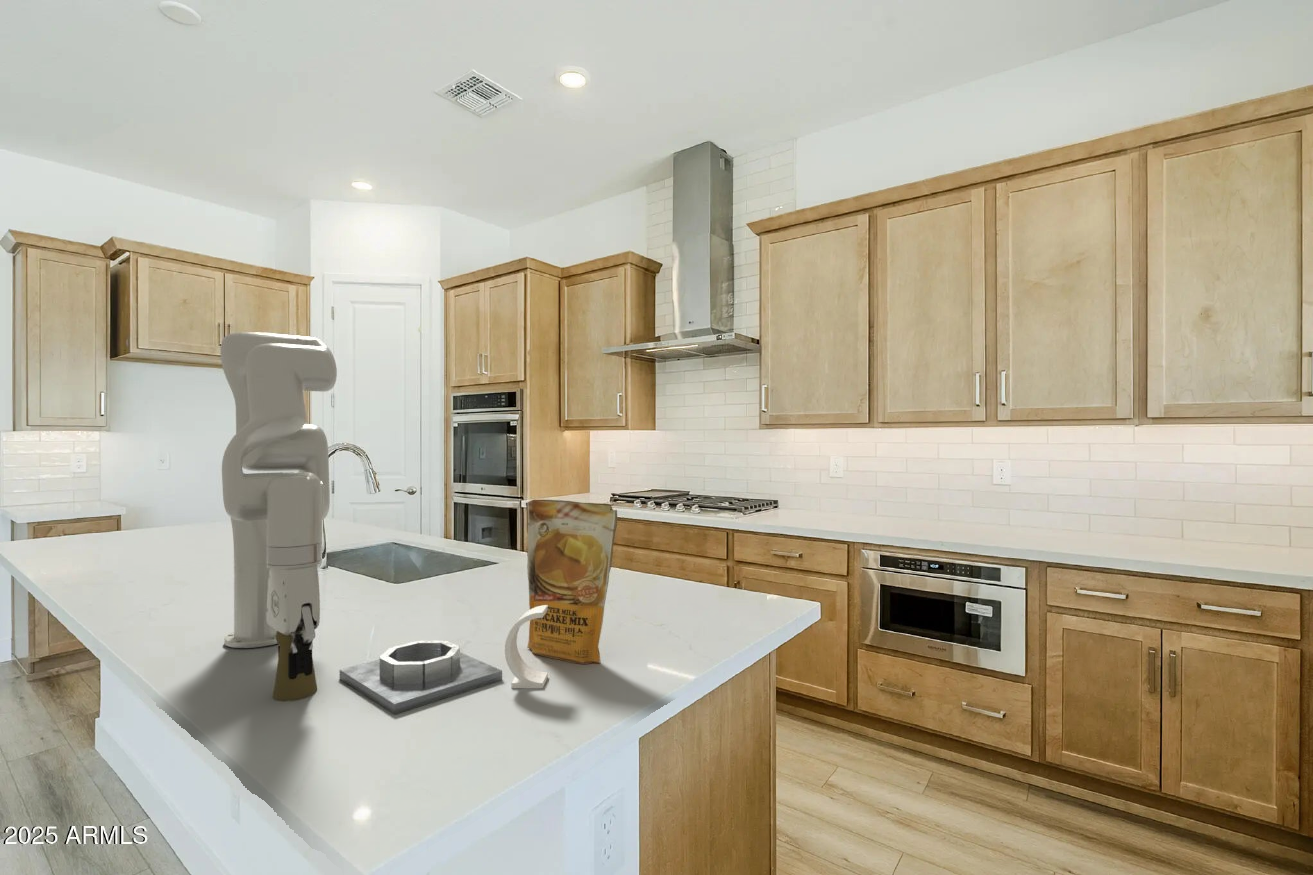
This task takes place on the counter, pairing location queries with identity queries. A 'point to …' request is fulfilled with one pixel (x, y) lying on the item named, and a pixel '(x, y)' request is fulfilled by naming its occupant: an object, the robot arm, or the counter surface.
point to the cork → (283, 684)
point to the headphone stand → (518, 667)
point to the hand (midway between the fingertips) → (295, 671)
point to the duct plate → (418, 691)
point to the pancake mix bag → (569, 576)
